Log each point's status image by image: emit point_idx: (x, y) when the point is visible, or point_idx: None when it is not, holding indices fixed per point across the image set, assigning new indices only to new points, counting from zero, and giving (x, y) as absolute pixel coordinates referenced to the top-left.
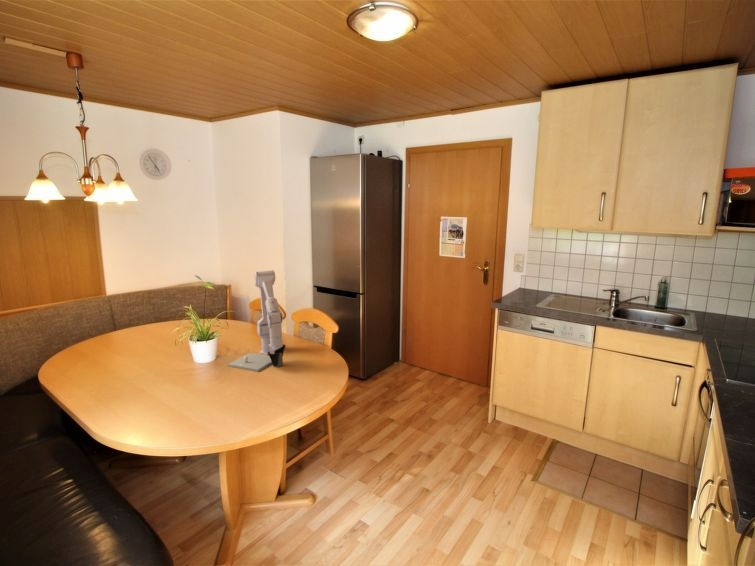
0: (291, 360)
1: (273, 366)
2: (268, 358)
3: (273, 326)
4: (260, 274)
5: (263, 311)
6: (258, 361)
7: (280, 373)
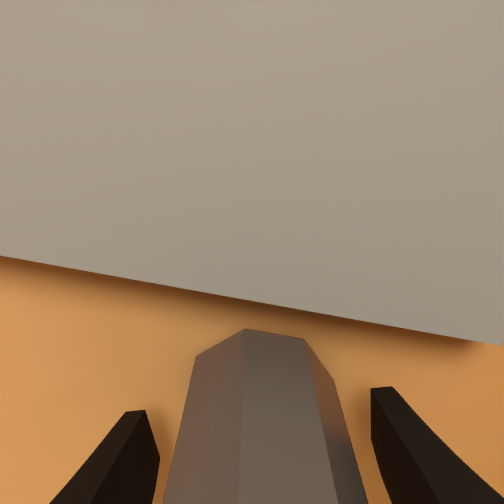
0: None
1: (195, 361)
2: (462, 188)
3: None
4: None
5: None
6: (271, 36)
7: (50, 486)
